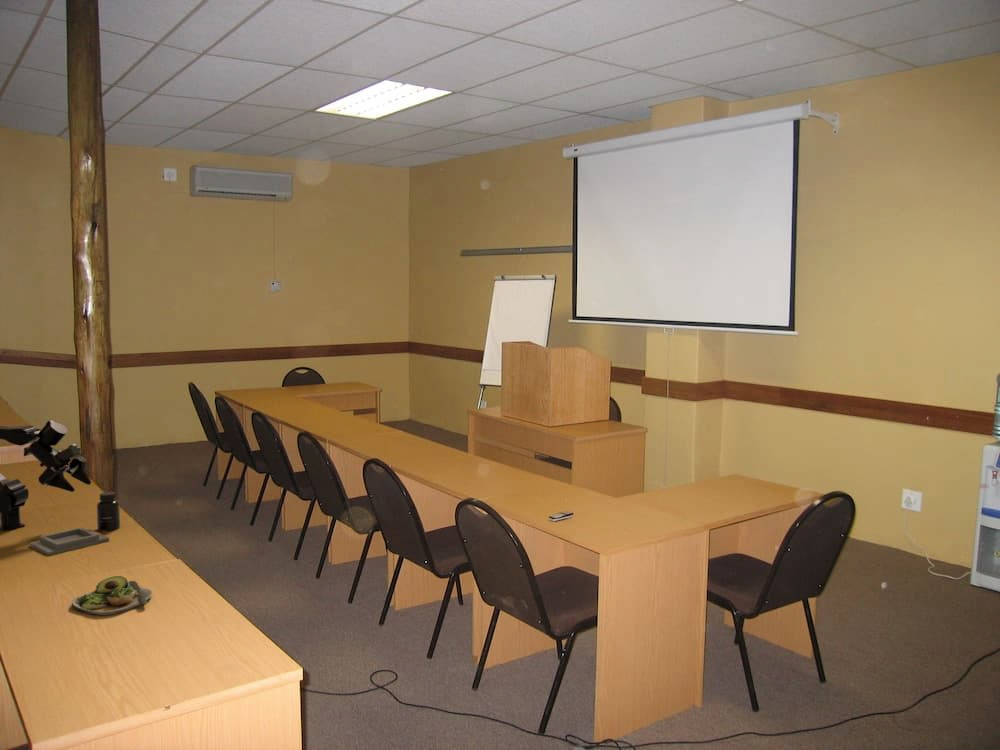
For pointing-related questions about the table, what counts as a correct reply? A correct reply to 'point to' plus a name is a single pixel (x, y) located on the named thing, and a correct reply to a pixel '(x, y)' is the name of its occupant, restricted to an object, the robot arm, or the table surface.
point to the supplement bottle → (108, 512)
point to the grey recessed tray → (68, 541)
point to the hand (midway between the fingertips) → (82, 487)
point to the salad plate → (112, 596)
